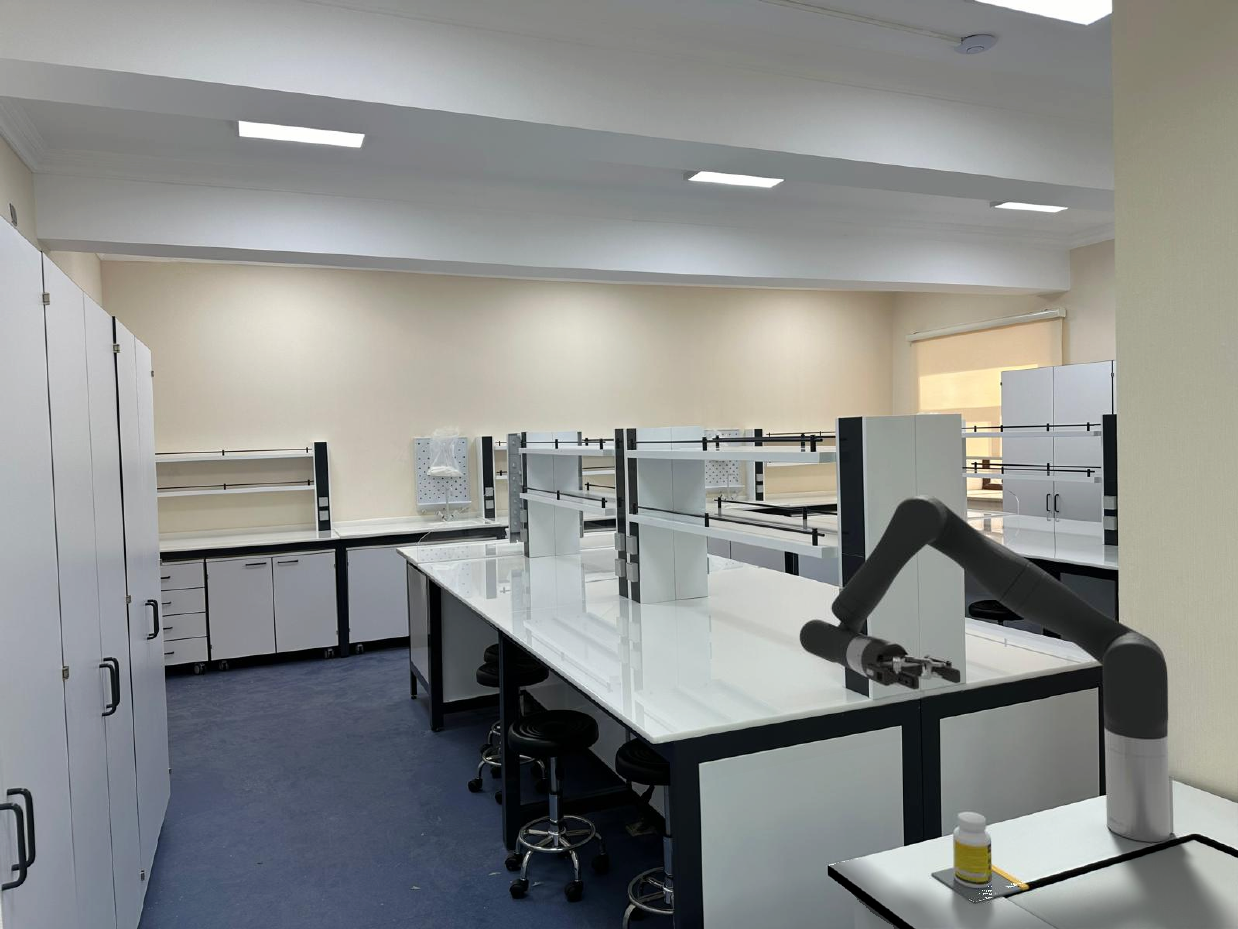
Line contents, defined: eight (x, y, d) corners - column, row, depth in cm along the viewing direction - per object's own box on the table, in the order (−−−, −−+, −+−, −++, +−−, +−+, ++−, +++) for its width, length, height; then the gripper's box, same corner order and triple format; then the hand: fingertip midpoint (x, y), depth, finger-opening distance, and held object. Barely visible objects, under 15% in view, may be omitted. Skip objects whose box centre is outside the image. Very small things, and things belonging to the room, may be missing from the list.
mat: (983, 861, 134) (983, 859, 134) (1028, 888, 126) (1028, 886, 126) (931, 875, 131) (931, 872, 131) (974, 903, 122) (974, 900, 122)
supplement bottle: (996, 891, 125) (994, 826, 125) (957, 888, 126) (956, 824, 126) (987, 873, 130) (986, 810, 130) (950, 870, 131) (949, 808, 131)
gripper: (843, 642, 152) (902, 662, 137) (907, 634, 157) (971, 653, 142) (844, 683, 152) (903, 708, 137) (908, 674, 157) (972, 697, 142)
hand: (938, 680), depth 139 cm, fingers open, 8 cm apart
